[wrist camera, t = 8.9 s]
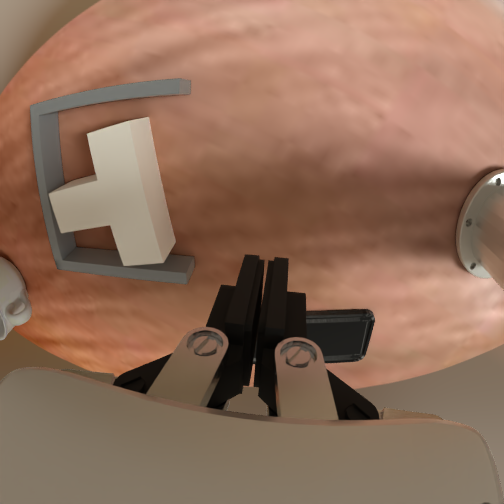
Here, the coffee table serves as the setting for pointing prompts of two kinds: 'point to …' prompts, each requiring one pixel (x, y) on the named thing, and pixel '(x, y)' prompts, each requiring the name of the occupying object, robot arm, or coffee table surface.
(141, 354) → the coffee table surface
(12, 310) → the teacup
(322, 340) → the phone
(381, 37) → the coffee table surface
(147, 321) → the coffee table surface
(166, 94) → the bay
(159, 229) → the t block
